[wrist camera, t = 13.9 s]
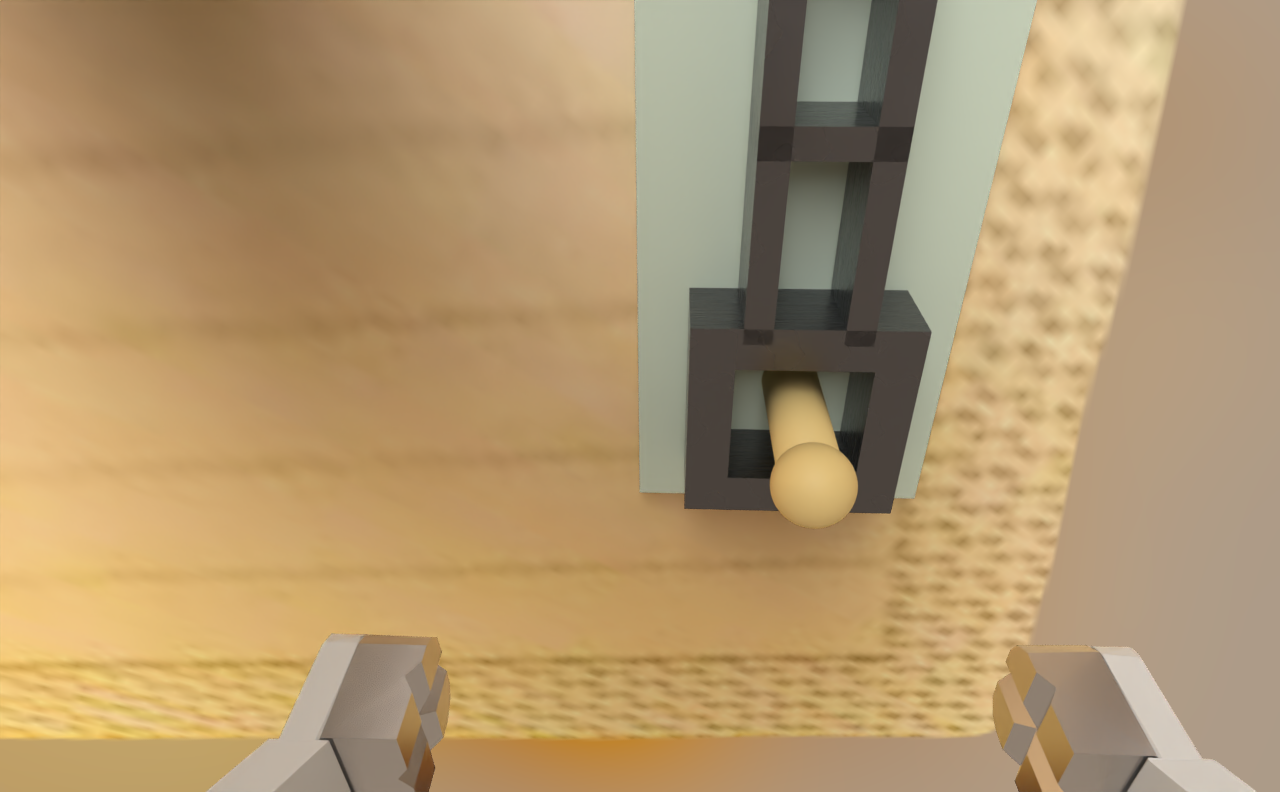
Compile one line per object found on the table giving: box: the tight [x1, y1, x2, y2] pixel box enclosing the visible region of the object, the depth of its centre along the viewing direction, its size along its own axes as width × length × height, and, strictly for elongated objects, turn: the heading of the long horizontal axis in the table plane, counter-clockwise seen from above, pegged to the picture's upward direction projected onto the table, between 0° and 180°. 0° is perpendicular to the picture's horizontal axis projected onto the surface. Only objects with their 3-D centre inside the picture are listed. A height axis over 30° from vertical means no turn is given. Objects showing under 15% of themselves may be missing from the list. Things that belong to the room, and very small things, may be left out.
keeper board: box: [634, 0, 1037, 529], centre depth 24 cm, size 23×12×9 cm, turn 0°
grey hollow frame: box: [684, 0, 938, 513], centre depth 26 cm, size 21×8×3 cm, turn 0°
